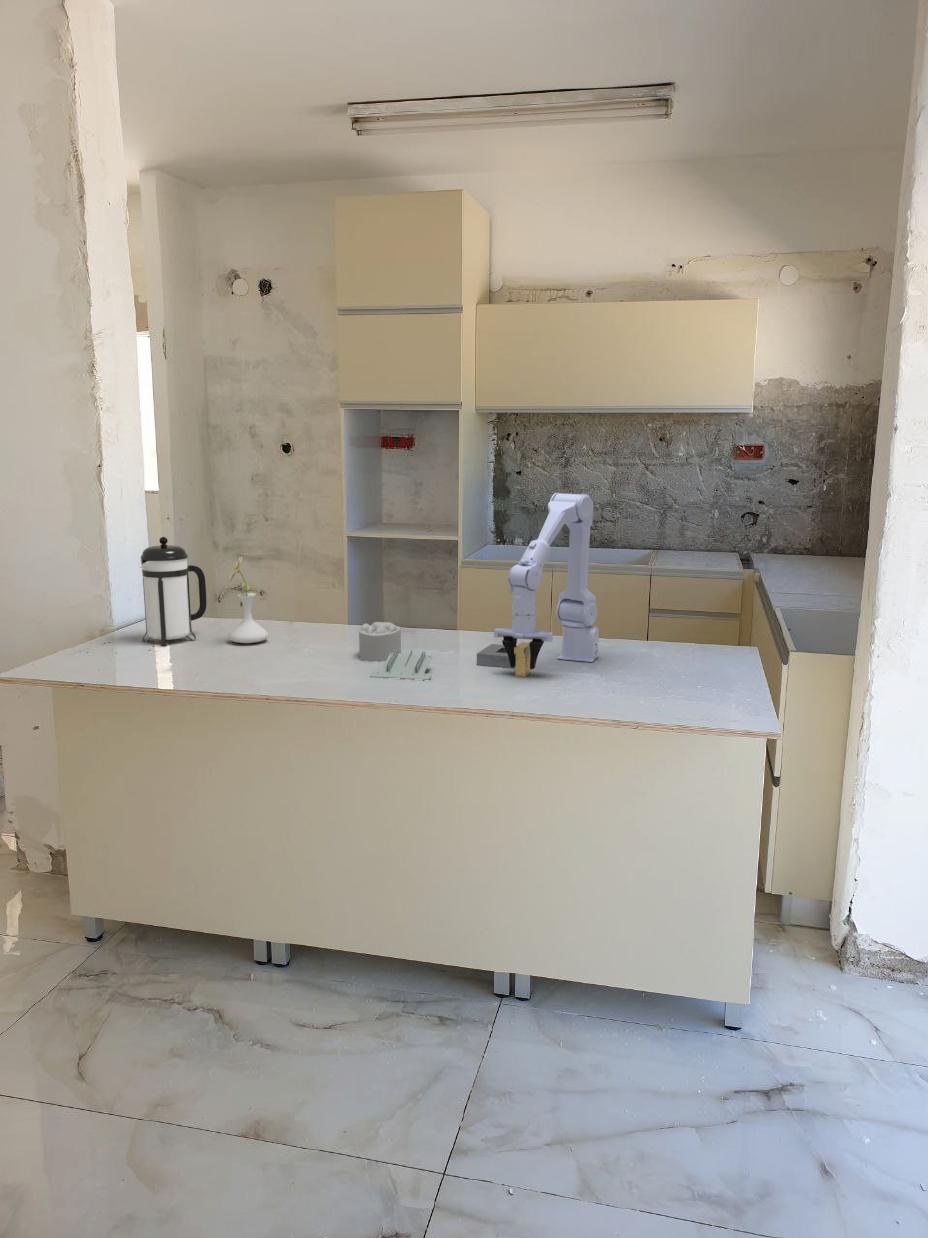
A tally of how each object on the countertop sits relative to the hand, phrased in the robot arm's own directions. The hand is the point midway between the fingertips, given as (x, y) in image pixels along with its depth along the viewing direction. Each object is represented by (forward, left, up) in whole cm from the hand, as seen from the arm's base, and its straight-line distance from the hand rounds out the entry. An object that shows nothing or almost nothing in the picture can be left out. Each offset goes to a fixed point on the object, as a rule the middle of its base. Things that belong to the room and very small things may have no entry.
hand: (522, 667), depth 230 cm
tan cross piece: (0, 0, -2) cm, 2 cm away
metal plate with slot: (+8, -11, -2) cm, 14 cm away
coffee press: (+106, -1, -2) cm, 106 cm away
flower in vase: (+84, -6, -2) cm, 84 cm away
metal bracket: (+28, +9, -2) cm, 29 cm away
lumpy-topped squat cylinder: (+42, -5, -2) cm, 42 cm away
